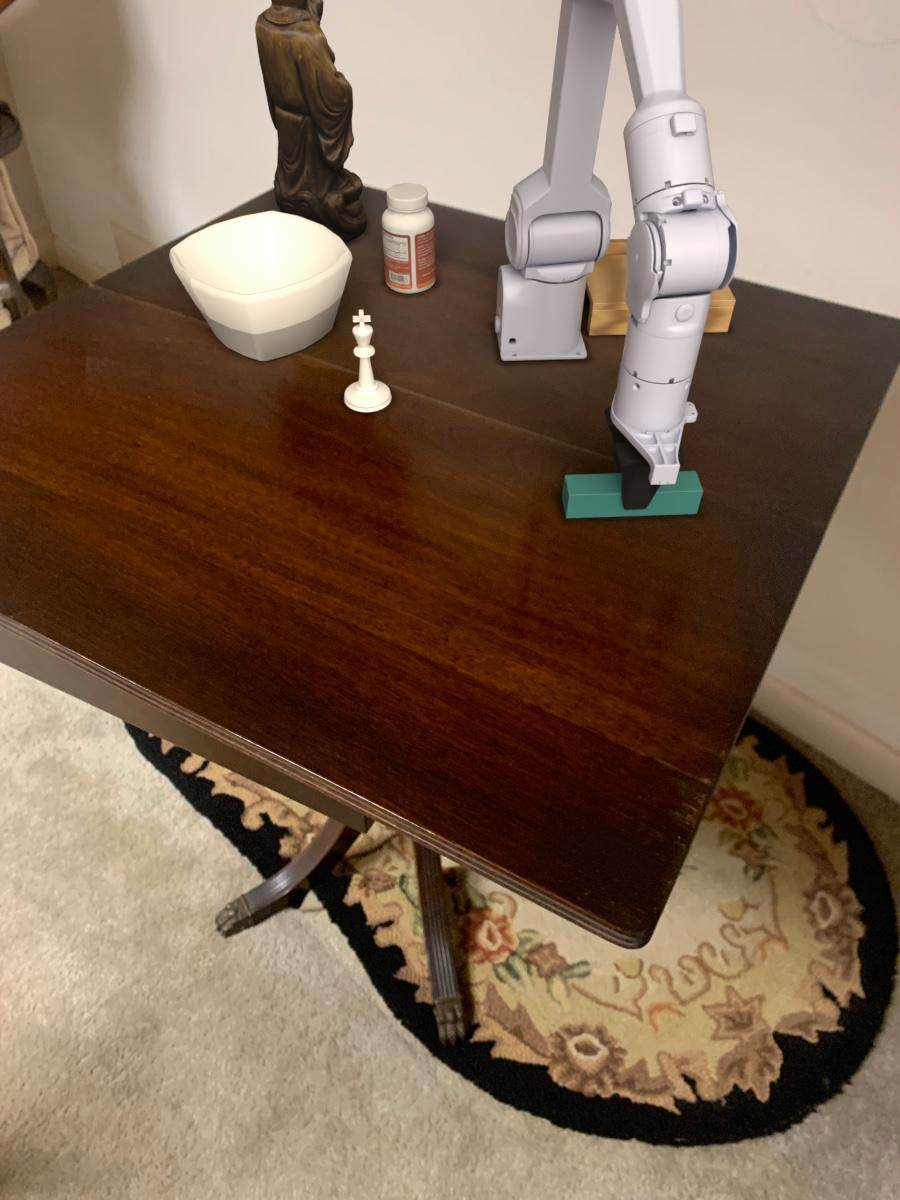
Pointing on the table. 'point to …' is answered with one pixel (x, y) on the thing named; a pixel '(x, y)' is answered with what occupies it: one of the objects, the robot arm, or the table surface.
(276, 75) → the sculpture
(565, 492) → the stick
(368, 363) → the chess piece
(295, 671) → the table surface
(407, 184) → the pill bottle
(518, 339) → the robot arm
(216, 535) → the table surface
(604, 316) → the wooden stepped tray
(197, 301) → the bowl
